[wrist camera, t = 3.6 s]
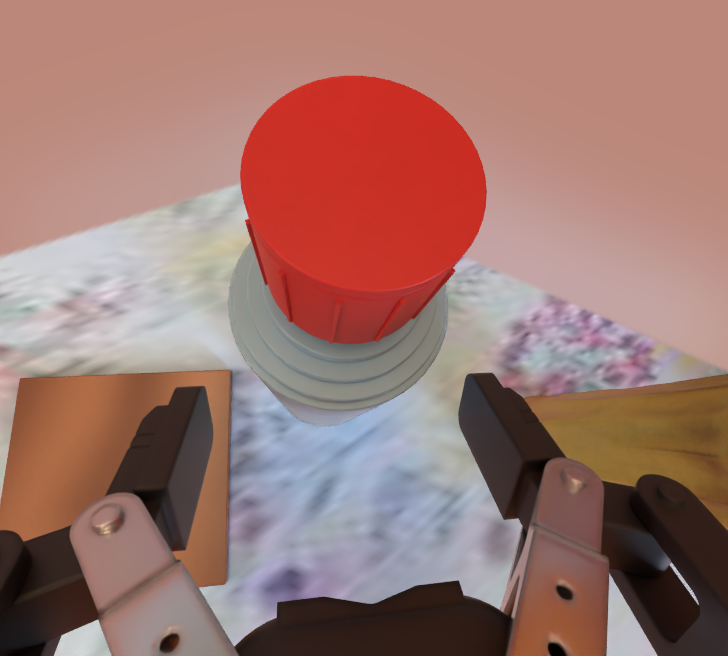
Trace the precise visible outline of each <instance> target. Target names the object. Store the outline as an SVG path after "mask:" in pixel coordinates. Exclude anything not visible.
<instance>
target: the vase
mask: <svg viewBox="0 0 728 656" xmlns="http://www.w3.org/2000/svg"><path fill="white" fill-rule="evenodd" d="M524 400H525V401H526V403H527V404H528V405H529V407H530V408H531V409H532V412H534V414H535V415H536V416H537V418H538V419H539V422H541V423H542V425H543V426H544V427H545V429H546V430H547V431H548V433H549V434H550V435H551V437H552V438H553V440H554V441H555V442H556V444H557V445H558V446H559V448H560V449H561V451H562V452H563V453H564V455H565V456H566V457H567V458H569V459H573V460H576V461H579V462H581V463H583V464H584V465H586V466H588V467H589V468H591V469H592V470H593V471H594V472H595V473H596V474H597V475H598V476H599V478H600V479H601V480H602V481H606V482H612V483H617V484H622V485H627V486H633V487H634V486H635V485H636V483H637V481H638V479H639V478H640V477H641V476H643V475H646V474H656V475H661V476H665V477H668V478H670V479H673V480H675V481H677V482H679V483H680V484H682V485H683V486H685V487H686V488H688V489H689V490H690V491H691V492H692V493H693V494H694V495H695V496H696V497H697V498H698V499H699V500H700V501H701V502H702V503H703V504H704V505H705V506H706V507H707V509H708V510H709V511H710V512H711V513H712V514H713V515H714V516H715V517H716V518H717V520H718V521H719V522H720V523H721V524H722V525H723V526H724V527H725V528H726V529H727V530H728V374H726V375H719V376H712V377H706V378H699V379H692V380H686V381H679V382H673V383H666V384H658V385H651V386H643V387H636V388H628V389H609V390H596V391H588V392H580V393H568V394H562V395H556V396H551V397H546V396H533V397H528V398H525V399H524Z"/></svg>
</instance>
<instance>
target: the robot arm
mask: <svg viewBox="0 0 728 656" xmlns="http://www.w3.org/2000/svg"><path fill="white" fill-rule="evenodd" d="M459 424H460V428H461V431H462V433H463V435H464V437H465V439H466V441H467V443H468V445H469V447H470V450H471V452H472V454H473V456H474V458H475V460H476V462H477V464H478V466H479V469H480V471H481V473H482V475H483V477H484V479H485V481H486V483H487V485H488V487H489V490H490V492H491V494H492V496H493V498H494V500H495V502H496V504H497V506H498V508H499V511H500V513H501V515H502V517H503V519H504V520H506V519H516V518H519V520H520V522H521V524H522V529H521V532H520V535H519V539H518V543H517V547H516V551H515V555H514V559H513V563H512V567H511V571H510V575H509V579H508V583H507V587H506V591H505V595H504V598H503V601H502V604H501V607H500V610H499V609H497V608H495V607H494V606H492V605H490V604H488V603H485V602H483V601H481V600H478V599H475V598H472V597H469V596H464V595H463V592H462V589H461V586H460V583H459V581H451V582H443V583H434V584H426V585H418V586H414V587H412V588H410V589H407V590H405V591H403V592H401V593H398V594H396V595H394V596H391V597H389V598H387V599H385V600H382V601H380V602H378V603H375V604H366V603H360V602H353V601H347V600H341V599H335V598H329V597H318V598H310V599H301V600H293V601H285V602H277V618H275V619H273V620H270V621H268V622H266V623H265V624H263V625H261V626H259V627H258V628H256V629H255V630H253V631H252V632H251V633H249V634H248V635H247V636H245V637H244V638H243V639H242V640H241V641H240V642H239V643H238V644H237V645H236V646H235V647H234V646H233V645H232V643H231V641H230V640H229V638H228V636H227V635H226V633H225V631H224V630H223V628H222V626H221V625H220V623H219V621H218V620H217V618H216V616H215V615H214V613H213V611H212V610H211V608H210V606H209V605H208V603H207V601H206V600H205V598H204V596H203V595H202V593H201V591H200V590H199V588H198V586H197V585H196V583H195V581H194V580H193V578H192V576H191V575H190V573H189V571H188V570H187V568H186V567H185V565H184V564H183V562H182V561H181V560H180V559H179V560H177V559H176V558H175V556H174V554H173V553H172V552H173V551H183V550H186V548H187V544H188V540H189V536H190V532H191V528H192V524H193V520H194V516H195V512H196V508H197V504H198V500H199V496H200V492H201V488H202V485H203V481H204V477H205V473H206V469H207V465H208V461H209V457H210V453H211V449H212V444H213V423H212V417H211V412H210V407H209V402H208V397H207V392H206V388H205V386H186V387H176V388H175V390H174V392H173V395H172V397H171V399H170V402H169V404H168V405H159V406H156V407H155V408H154V409H152V410H151V411H150V412H149V413H148V414H147V415H146V416H145V417H144V418H143V419H142V421H141V423H140V425H139V427H138V429H137V431H136V436H134V437H133V440H132V442H131V444H130V448H129V449H128V450H127V452H126V454H125V456H124V458H123V460H122V462H121V464H120V466H119V468H118V470H117V472H116V474H115V476H114V478H113V480H112V483H111V485H110V487H109V489H108V491H107V493H106V495H105V496H104V497H102V498H100V499H98V500H96V501H95V502H93V503H91V504H90V505H89V506H87V507H86V508H85V509H84V510H83V511H82V512H81V513H80V514H79V515H78V516H77V517H76V519H75V520H74V522H73V524H72V525H70V526H67V527H65V528H62V529H59V530H56V531H53V532H51V533H48V534H45V535H42V536H39V537H36V538H33V539H30V540H27V541H23V540H22V538H21V537H20V536H19V534H17V533H16V532H13V531H10V530H0V656H54V653H55V651H56V648H57V646H58V643H59V640H60V638H61V635H63V634H65V633H67V632H70V631H72V630H74V629H77V628H79V627H81V626H84V625H86V624H88V623H91V622H93V621H95V620H97V619H98V620H99V623H100V626H101V628H102V631H103V634H104V636H105V639H106V641H107V644H108V647H109V649H110V652H111V655H112V656H606V649H607V620H608V590H609V573H610V575H611V576H612V578H613V580H614V582H615V583H616V585H617V587H618V588H619V590H620V592H621V593H622V595H623V597H624V599H625V600H626V602H627V604H628V605H629V607H630V609H631V611H632V612H633V614H634V616H635V617H636V619H637V621H638V623H639V624H640V626H641V628H642V629H643V631H644V633H645V635H646V636H647V638H648V640H649V641H650V643H651V645H652V647H653V648H654V650H655V652H656V653H657V655H658V656H728V530H727V529H726V528H725V527H724V526H723V525H722V524H721V523H720V522H719V521H718V520H717V518H716V517H715V516H714V515H713V514H712V513H711V512H710V511H709V510H708V509H707V507H706V506H705V505H704V504H703V503H702V502H701V501H700V500H699V499H698V498H697V497H696V496H695V495H694V494H693V493H692V492H691V491H690V490H689V489H688V488H686V487H685V486H683V485H682V484H680V483H679V482H677V481H675V480H673V479H670V478H668V477H665V476H661V475H656V474H646V475H643V476H641V477H640V478H639V479H638V481H637V483H636V485H635V486H634V487H633V486H627V485H622V484H617V483H612V482H606V481H602V480H601V479H600V478H599V476H598V475H597V474H596V473H595V472H594V471H593V470H592V469H591V468H589V467H588V466H586V465H584V464H583V463H581V462H579V461H576V460H573V459H569V458H567V457H566V456H565V455H564V453H563V452H562V451H561V449H560V448H559V446H558V445H557V444H556V442H555V441H554V440H553V438H552V437H551V435H550V434H549V433H548V431H547V430H546V429H545V427H544V426H543V425H542V423H541V422H539V419H538V418H537V416H536V415H535V414H534V412H532V409H531V408H530V407H529V405H528V404H527V403H526V401H525V400H524V398H523V397H521V396H520V395H519V394H517V393H516V392H515V391H513V390H512V389H510V388H503V387H502V385H501V384H500V382H499V381H498V379H497V378H496V376H495V375H494V374H493V373H474V374H468V375H467V376H466V379H465V383H464V388H463V393H462V398H461V402H460V407H459ZM671 562H672V563H673V565H674V566H675V567H676V569H677V570H678V571H679V573H680V574H681V576H682V577H683V578H684V580H685V581H686V582H687V584H688V585H689V587H690V588H691V589H692V591H693V592H694V594H695V596H696V598H697V600H698V603H699V605H698V604H697V603H696V601H695V600H694V599H693V597H692V596H691V594H690V593H689V592H688V590H687V589H686V587H685V586H684V585H683V583H682V582H681V581H680V579H679V578H678V576H677V575H676V574H675V572H674V571H673V569H672V568H671V567H670V563H671Z"/></svg>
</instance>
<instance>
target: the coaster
mask: <svg viewBox="0 0 728 656" xmlns="http://www.w3.org/2000/svg"><path fill="white" fill-rule="evenodd" d="M231 379H232V371H231V370H215V371H190V372H166V373H141V374H117V375H92V376H68V377H43V378H21V379H20V382H19V388H18V394H17V401H16V407H15V414H14V420H13V426H12V433H11V439H10V446H9V452H8V459H7V465H6V471H5V478H4V484H3V491H2V497H1V504H0V530H10V531H13V532H16V533H17V534H19V536H20V537H21V538H22V540H23V541H27V540H30V539H33V538H36V537H39V536H42V535H45V534H48V533H51V532H53V531H56V530H59V529H62V528H65V527H67V526H70V525H72V524H73V522H74V520H75V519H76V517H77V516H78V515H79V514H80V513H81V512H82V511H83V510H84V509H85V508H86V507H87V506H89V505H90V504H91V503H93V502H95V501H96V500H98V499H100V498H102V497H104V496H105V495H106V493H107V491H108V489H109V487H110V485H111V483H112V480H113V478H114V476H115V474H116V472H117V470H118V468H119V466H120V464H121V462H122V460H123V458H124V456H125V454H126V452H127V450H128V449H129V448H130V444H131V442H132V440H133V437H134V436H136V431H137V429H138V427H139V425H140V423H141V421H142V419H143V418H144V417H145V416H146V415H147V414H148V413H149V412H150V411H151V410H152V409H154V408H155V407H156V406H159V405H168V404H169V402H170V399H171V397H172V395H173V392H174V390H175V388H176V387H186V386H205V388H206V392H207V397H208V402H209V407H210V412H211V417H212V423H213V444H212V449H211V453H210V457H209V461H208V465H207V469H206V473H205V477H204V481H203V485H202V488H201V492H200V496H199V500H198V504H197V508H196V512H195V516H194V520H193V524H192V528H191V532H190V536H189V540H188V544H187V548H186V550H183V551H173V552H172V553H173V554H174V556H175V558H176V559H177V560H179V559H180V560H181V561H182V562H183V564H184V565H185V567H186V568H187V570H188V571H189V573H190V575H191V576H192V578H193V580H194V581H195V583H196V585H197V586H198V587H206V586H215V585H224V584H226V582H227V564H228V518H229V471H230V425H231Z"/></svg>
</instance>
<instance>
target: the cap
mask: <svg viewBox="0 0 728 656" xmlns="http://www.w3.org/2000/svg"><path fill="white" fill-rule="evenodd" d="M240 177H241V190H242V194H243V199H244V204H245V207H246V211H247V214H248V217H249V219H247V220H245V222H246V225H247V229H248V232H249V235H250V238H251V241H252V245H253V248H254V251H255V254H256V258H257V261H258V264H259V267H260V270H261V274H262V277H263V280H264V283H265V285H268V286H269V289H270V291H271V294H272V296H273V298H274V300H275V302H276V304H277V305H278V306H279V308H280V309H281V311H282V312H283V313H284V314H285V315H286V316H287V320H288V321H289V322H290V323H291V322H293V323H294V324H295V325H297V326H298V327H299V328H300V329H302V330H304V331H305V332H307V333H309V334H311V335H313V336H315V337H317V338H320V339H323V340H326V341H329V343H332V344H333V342H334V343H341V344H361V343H368V342H372V341H376V342H379V341H380V340H381V338H384V337H387V336H388V335H390V334H392V333H394V332H396V331H397V330H399V329H400V328H401V327H403V326H404V325H405V324H406V323H407V322H408V321H409V320H410V319H411V318H413V319H415V318H416V317H417V316H418V314H419V313H420V312H421V311H422V310H423V309H424V307H425V306H426V305H427V304H428V303H429V302H430V300H431V299H432V298H433V297H434V296H435V295H436V293H437V292H438V291H439V290H440V289H441V287H442V286H443V285H444V284H445V283H446V282H447V280H448V279H449V278H450V277H451V276H452V275H453V273H454V272H455V270H454V269H453V267H454V266H455V265H456V263H457V262H458V261H459V260H460V259H461V257H462V256H463V255H464V254H465V252H466V251H467V250H468V248H469V247H470V246H471V244H472V243H473V241H474V239H475V237H476V235H477V234H478V232H479V229H480V226H481V223H482V221H483V217H484V212H485V207H486V193H487V191H486V180H485V174H484V170H483V166H482V163H481V160H480V157H479V155H478V152H477V150H476V148H475V146H474V144H473V142H472V140H471V139H470V137H469V136H468V134H467V133H466V132H465V130H464V129H463V127H462V126H461V125H460V124H459V123H458V122H457V121H456V120H455V118H454V117H453V116H451V114H450V113H448V112H447V111H446V110H445V109H444V108H443V107H442V106H440V105H439V104H437V103H436V102H435V101H433V100H432V99H430V98H429V97H427V96H425V95H423V94H422V93H420V92H418V91H416V90H413V89H412V88H409V87H407V86H405V85H402V84H399V83H396V82H393V81H390V80H385V79H380V78H376V77H366V76H340V77H331V78H326V79H322V80H317V81H314V82H311V83H309V84H306V85H303V86H301V87H299V88H297V89H295V90H293V91H291V92H289V93H288V94H286V95H285V96H283V97H282V98H280V99H279V100H277V101H276V102H275V103H274V104H273V105H272V106H271V107H269V109H267V111H266V112H265V113H264V114H263V115H262V116H261V118H260V119H259V120H258V122H257V123H256V125H255V126H254V128H253V130H252V131H251V133H250V136H249V138H248V140H247V143H246V145H245V148H244V152H243V156H242V162H241V172H240Z"/></svg>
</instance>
